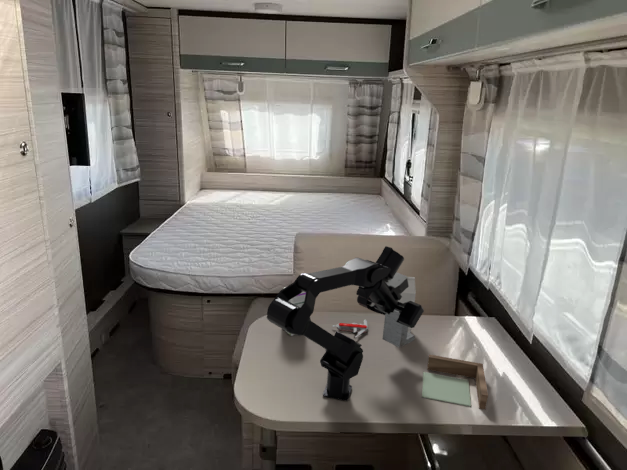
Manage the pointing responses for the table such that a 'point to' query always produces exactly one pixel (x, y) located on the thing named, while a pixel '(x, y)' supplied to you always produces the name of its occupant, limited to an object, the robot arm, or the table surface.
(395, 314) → the gray block
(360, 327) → the swiss army knife
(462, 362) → the brown wooden corner wall
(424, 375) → the mat
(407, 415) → the table surface
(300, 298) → the syrup box
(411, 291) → the milk carton
